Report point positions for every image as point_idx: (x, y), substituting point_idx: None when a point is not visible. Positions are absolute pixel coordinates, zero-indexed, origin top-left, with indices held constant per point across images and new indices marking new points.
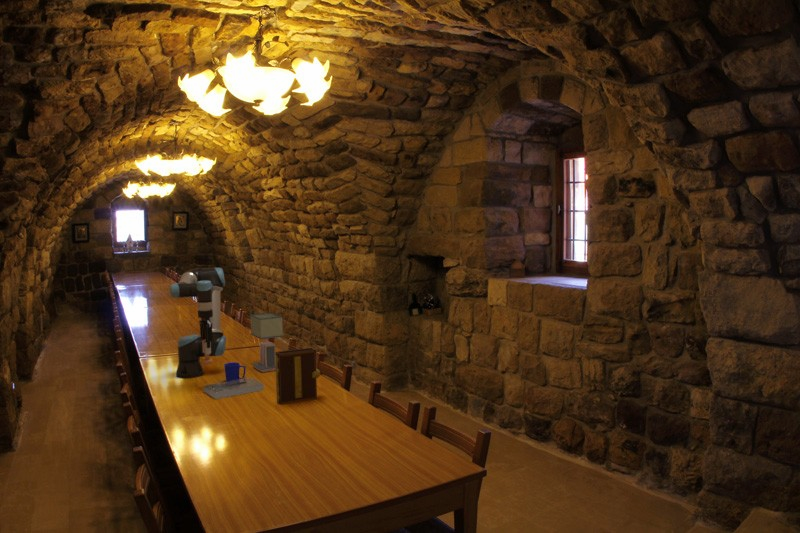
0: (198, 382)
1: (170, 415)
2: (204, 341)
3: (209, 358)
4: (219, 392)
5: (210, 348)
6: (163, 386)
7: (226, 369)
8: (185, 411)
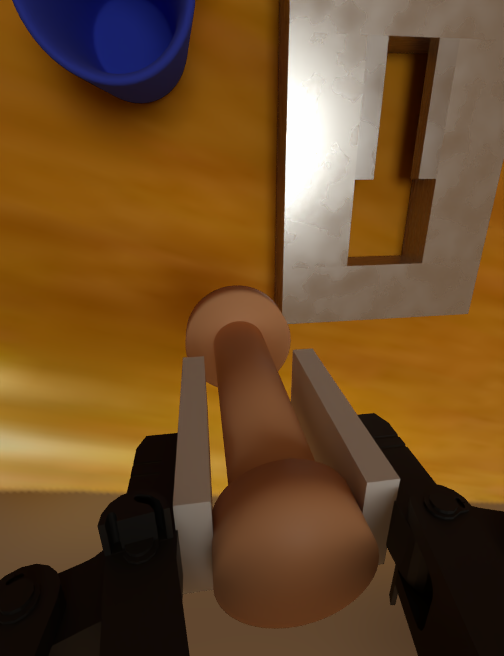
0: (20, 273)
1: (486, 487)
2: (394, 600)
3: (252, 328)
4: (470, 290)
5: (338, 392)
6: (15, 451)
7: (147, 86)
8: (489, 442)
